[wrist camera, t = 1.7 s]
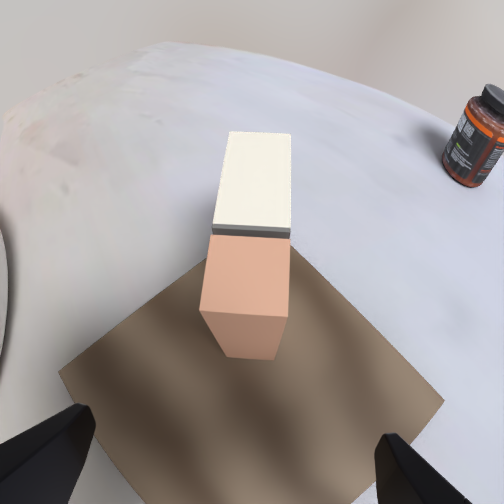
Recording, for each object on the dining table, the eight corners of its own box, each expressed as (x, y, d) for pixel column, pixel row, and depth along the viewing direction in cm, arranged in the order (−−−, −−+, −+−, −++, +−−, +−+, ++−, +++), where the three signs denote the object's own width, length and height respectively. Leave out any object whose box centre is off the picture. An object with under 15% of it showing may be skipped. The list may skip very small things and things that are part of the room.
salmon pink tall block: (273, 360, 19) (288, 316, 10) (226, 357, 19) (199, 310, 11) (276, 316, 21) (290, 239, 12) (231, 313, 21) (210, 234, 12)
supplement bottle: (485, 173, 29) (527, 106, 19) (474, 198, 27) (525, 124, 17) (448, 144, 31) (483, 72, 21) (433, 165, 29) (473, 84, 19)
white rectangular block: (276, 313, 21) (290, 232, 12) (232, 310, 21) (211, 228, 12) (279, 240, 24) (290, 134, 15) (240, 237, 24) (229, 131, 15)
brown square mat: (231, 575, 12) (230, 582, 11) (66, 374, 20) (58, 371, 19) (436, 401, 18) (444, 400, 17) (261, 226, 26) (261, 217, 25)
